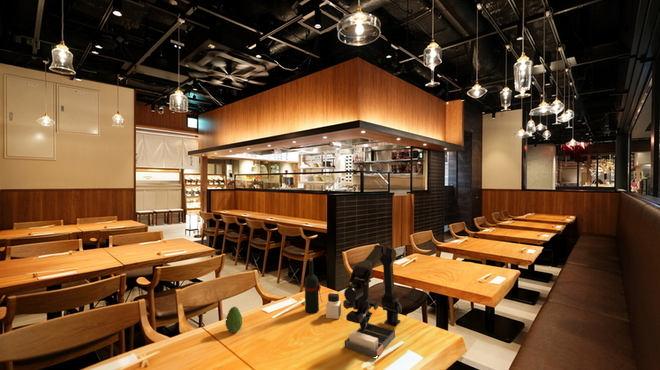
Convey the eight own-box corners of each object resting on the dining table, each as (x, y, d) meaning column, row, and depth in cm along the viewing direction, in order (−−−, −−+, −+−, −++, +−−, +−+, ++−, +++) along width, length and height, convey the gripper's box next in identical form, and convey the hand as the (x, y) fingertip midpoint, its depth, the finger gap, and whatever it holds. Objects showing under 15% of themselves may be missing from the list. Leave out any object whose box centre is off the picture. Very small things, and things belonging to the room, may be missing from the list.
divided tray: (366, 328, 143) (366, 322, 143) (395, 337, 134) (395, 330, 134) (344, 347, 126) (344, 340, 126) (376, 359, 117) (376, 352, 117)
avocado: (237, 326, 147) (237, 302, 147) (245, 331, 142) (244, 307, 142) (222, 331, 142) (222, 307, 142) (229, 337, 136) (229, 312, 136)
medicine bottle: (339, 319, 153) (338, 296, 153) (326, 318, 154) (325, 295, 154) (341, 313, 160) (340, 291, 160) (328, 312, 161) (328, 291, 161)
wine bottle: (322, 313, 160) (321, 260, 160) (304, 314, 160) (303, 260, 160) (323, 307, 168) (322, 256, 168) (305, 308, 168) (304, 256, 168)
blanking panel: (354, 341, 130) (353, 330, 130) (378, 350, 123) (378, 338, 123) (349, 345, 126) (349, 334, 126) (374, 354, 120) (374, 342, 120)
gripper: (356, 284, 137) (357, 317, 137) (335, 297, 121) (335, 334, 121) (378, 289, 130) (378, 323, 130) (358, 303, 115) (359, 342, 115)
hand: (363, 330), depth 124 cm, fingers closed
